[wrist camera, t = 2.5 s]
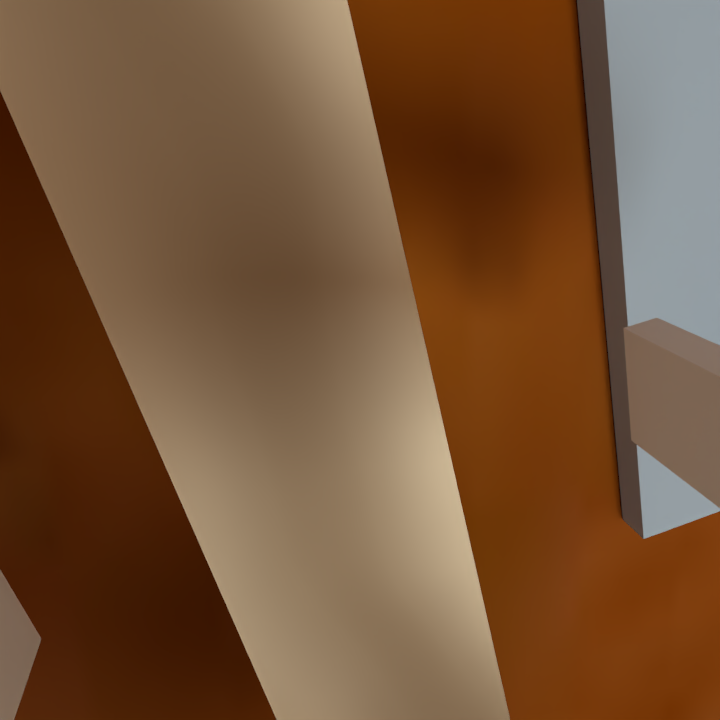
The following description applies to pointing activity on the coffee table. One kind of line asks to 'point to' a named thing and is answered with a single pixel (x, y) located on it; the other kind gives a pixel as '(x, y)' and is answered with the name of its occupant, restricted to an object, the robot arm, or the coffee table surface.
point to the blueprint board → (654, 204)
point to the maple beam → (265, 332)
